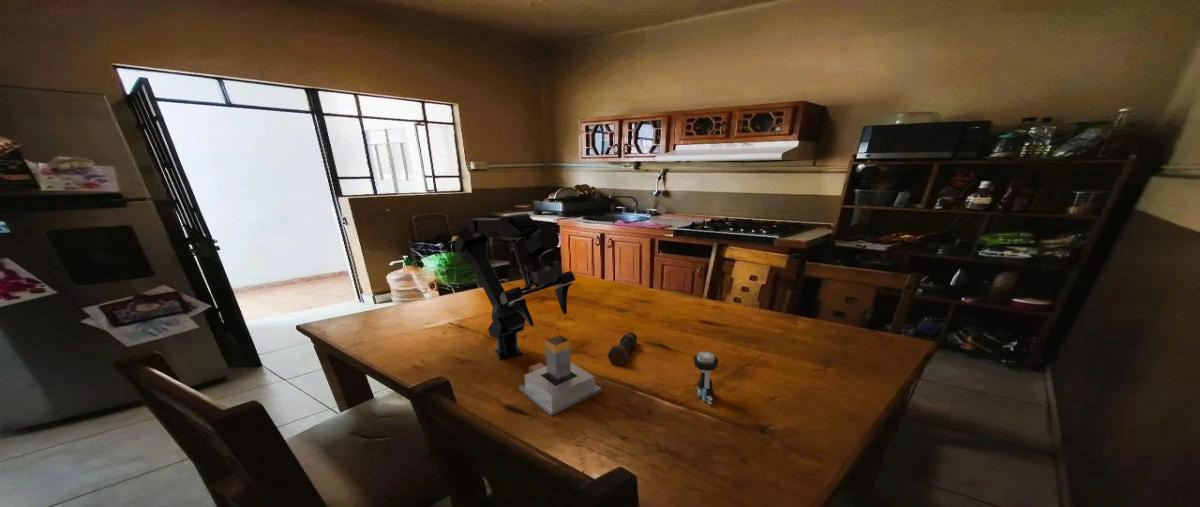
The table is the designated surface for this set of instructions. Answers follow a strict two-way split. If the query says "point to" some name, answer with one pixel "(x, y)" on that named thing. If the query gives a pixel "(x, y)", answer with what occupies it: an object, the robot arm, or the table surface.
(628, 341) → the bolt
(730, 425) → the table surface
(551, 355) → the grey square peg
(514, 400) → the table surface
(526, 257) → the robot arm
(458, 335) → the table surface
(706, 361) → the push button
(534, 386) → the grey socket base
